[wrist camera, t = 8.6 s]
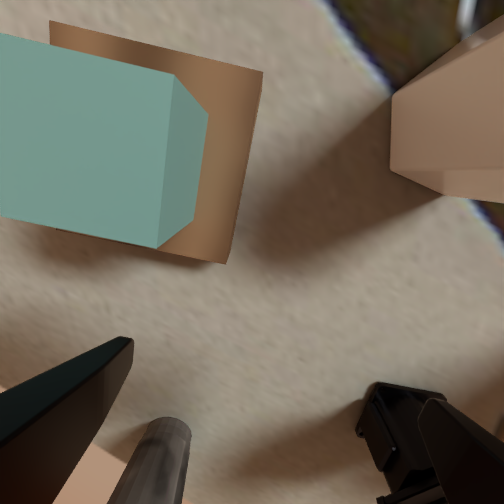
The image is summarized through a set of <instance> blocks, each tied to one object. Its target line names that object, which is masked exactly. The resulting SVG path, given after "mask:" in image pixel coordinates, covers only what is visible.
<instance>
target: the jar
mask: <svg viewBox="0 0 504 504" xmlns="http://www.w3.org/2000/svg"><path fill="white" fill-rule="evenodd" d="M390 170H391V171H393V172H395V173H397V174H399V175H402V176H404V177H406V178H408V179H410V180H413V181H415V182H417V183H419V184H421V185H423V186H426V187H428V188H430V189H432V190H434V191H436V192H439V193H441V194H443V195H446V196H453V197H460V198H468V199H476V200H483V201H491V202H498V203H504V15H502V16H501V17H499V18H497V19H496V20H494V21H493V22H491V23H490V24H488V25H486V26H485V27H483V28H482V29H480V30H479V31H477V32H475V33H474V34H472V35H471V36H469V37H467V38H466V39H464V40H463V41H461V42H460V43H458V44H457V45H456V46H454V47H453V48H452V49H451V50H449V51H448V52H447V53H445V54H444V55H443V56H442V57H440V58H439V59H438V60H436V61H435V62H434V63H433V64H431V65H430V66H429V67H427V68H426V69H425V70H424V71H422V72H421V73H420V74H418V75H417V76H416V77H415V78H413V79H412V80H411V81H409V82H408V83H407V84H406V85H404V86H403V87H402V88H400V89H399V90H398V91H397V92H395V93H394V94H393V96H392V113H391V145H390Z"/></svg>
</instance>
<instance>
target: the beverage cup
mask: <svg viewBox="0 0 504 504" xmlns="http://www.w3.org/2000/svg"><path fill="white" fill-rule="evenodd" d="M191 437H192V435H191V431H190V429H189V427H188V426H187V425H186V424H185V423H184V422H182V421H180V420H178V419H175V418H171V417H162V418H158V419H156V420H154V421H153V422H151V424H150V425H149V426H148V428H147V431H146V432H145V434H144V436H143V437H142V439H141V440H140V442H139V444H138V445H137V447H136V449H135V451H134V453H133V455H132V457H131V459H130V461H129V463H128V464H127V466H126V468H125V470H124V472H123V474H122V476H121V478H120V480H119V482H118V484H117V485H116V487H115V490H114V491H113V493H112V495H111V497H110V499H109V501H108V502H107V504H181V503H182V497H183V491H184V485H185V479H186V473H187V467H188V460H189V454H190V452H189V450H190V441H191Z"/></svg>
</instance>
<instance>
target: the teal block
mask: <svg viewBox="0 0 504 504" xmlns="http://www.w3.org/2000/svg"><path fill="white" fill-rule="evenodd" d="M208 115H209V114H208V113H207V112H206V111H205V110H204V109H203V107H202V106H201V105H200V104H199V103H198V102H197V101H196V99H195V98H194V97H193V96H192V95H191V94H190V92H189V91H188V90H187V89H186V88H185V87H184V86H183V84H182V83H181V82H180V81H179V80H178V79H177V77H176V76H175V75H174V74H169V73H165V72H161V71H157V70H153V69H149V68H144V67H140V66H136V65H132V64H128V63H124V62H120V61H115V60H111V59H107V58H103V57H99V56H95V55H90V54H86V53H82V52H78V51H74V50H70V49H65V48H61V47H57V46H53V45H49V44H45V43H40V42H36V41H32V40H28V39H24V38H20V37H15V36H11V35H7V34H3V33H0V214H1V217H6V218H11V219H16V220H20V221H25V222H30V223H35V224H40V225H45V226H49V227H54V228H59V229H64V230H69V231H73V232H78V233H83V234H88V235H93V236H98V237H102V238H107V239H112V240H117V241H122V242H126V243H131V244H136V245H141V246H146V247H150V248H155V249H157V248H158V247H159V246H161V245H162V244H163V243H165V242H166V241H167V240H168V239H170V238H171V237H172V236H174V235H175V234H176V233H177V232H179V231H180V230H181V229H183V228H184V227H185V226H187V225H188V224H189V223H190V222H192V221H193V219H194V212H195V205H196V198H197V191H198V184H199V177H200V170H201V164H202V157H203V150H204V143H205V136H206V129H207V122H208Z"/></svg>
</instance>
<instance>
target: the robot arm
mask: <svg viewBox="0 0 504 504" xmlns="http://www.w3.org/2000/svg"><path fill="white" fill-rule="evenodd" d="M133 352H134V340H133V339H132V338H128V337H123V336H119V337H116V338H114V339H112V340H110V341H108V342H106V343H104V344H102V345H100V346H98V347H96V348H93V349H91V350H89V351H87V352H85V353H83V354H81V355H79V356H77V357H75V358H73V359H71V360H69V361H66V362H64V363H62V364H60V365H58V366H56V367H54V368H52V369H50V370H48V371H46V372H44V373H42V374H39V375H37V376H35V377H33V378H31V379H29V380H27V381H25V382H23V383H21V384H19V385H17V386H15V387H12V388H10V389H8V390H6V391H4V392H2V393H0V504H52V503H53V502H54V500H55V498H56V497H57V495H58V494H59V492H60V490H61V489H62V487H63V486H64V484H65V483H66V481H67V479H68V478H69V476H70V475H71V473H72V472H73V470H74V468H75V467H76V465H77V464H78V462H79V461H80V459H81V457H82V456H83V454H84V453H85V451H86V450H87V448H88V446H89V445H90V443H91V442H92V440H93V438H94V437H95V435H96V434H97V432H98V430H99V429H100V427H101V425H102V424H103V422H104V420H105V418H106V416H107V414H108V412H109V410H110V408H111V406H112V405H113V403H114V401H115V399H116V397H117V395H118V393H119V391H120V389H121V387H122V385H123V383H124V381H125V379H126V377H127V375H128V373H129V371H130V369H131V366H132V363H133ZM355 431H356V434H357V436H358V437H360V438H365V440H366V442H367V445H368V447H369V450H370V452H371V455H372V457H373V460H374V462H375V465H376V467H377V469H378V470H379V471H380V472H383V474H384V476H385V478H386V481H387V483H388V486H389V488H390V491H391V494H389V495H387V496H385V497H384V496H380V497H378V498H376V500H377V504H504V443H503V442H502V441H500V440H499V439H497V438H496V437H495V436H493V435H492V434H491V433H489V432H488V431H486V430H485V429H484V428H482V427H481V426H480V425H478V424H477V423H475V422H474V421H473V420H471V419H470V418H468V417H467V416H466V415H464V414H463V413H462V412H460V411H459V410H457V409H456V408H455V407H453V406H452V405H451V404H449V403H448V402H447V399H446V398H445V396H444V395H443V394H441V393H436V392H431V391H425V390H420V389H415V388H409V387H404V386H399V385H394V384H388V383H383V382H381V383H378V384H377V385H376V386H375V388H374V390H373V393H372V395H371V397H370V399H369V401H368V403H367V405H366V408H365V410H364V412H363V414H362V416H361V418H360V420H359V423H358V425H357V427H356V429H355Z"/></svg>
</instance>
